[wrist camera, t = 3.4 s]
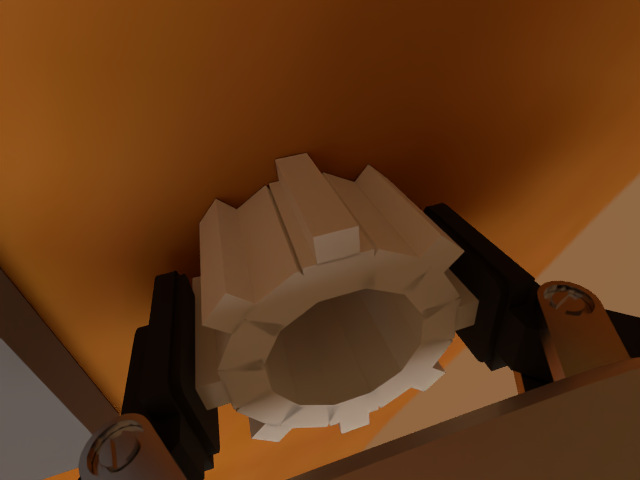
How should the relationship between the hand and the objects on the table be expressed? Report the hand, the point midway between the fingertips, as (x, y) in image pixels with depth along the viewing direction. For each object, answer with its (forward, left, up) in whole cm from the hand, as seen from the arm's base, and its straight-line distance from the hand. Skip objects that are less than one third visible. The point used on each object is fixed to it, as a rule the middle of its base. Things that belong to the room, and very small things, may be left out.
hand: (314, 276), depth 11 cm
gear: (0, 0, -1) cm, 1 cm away
